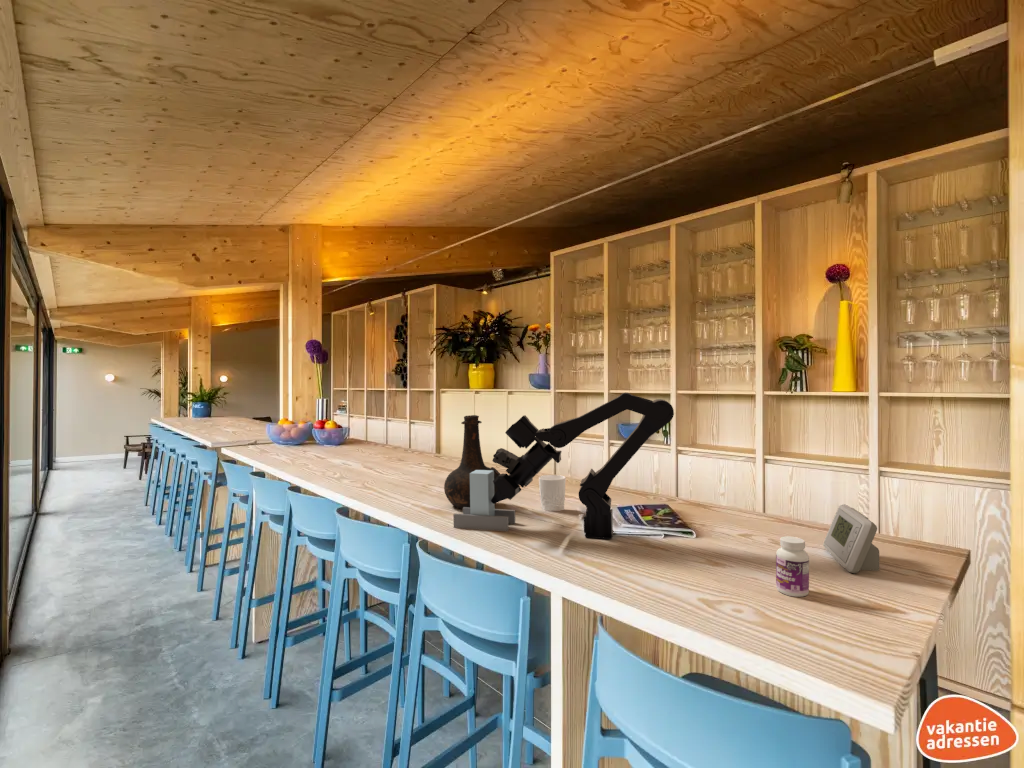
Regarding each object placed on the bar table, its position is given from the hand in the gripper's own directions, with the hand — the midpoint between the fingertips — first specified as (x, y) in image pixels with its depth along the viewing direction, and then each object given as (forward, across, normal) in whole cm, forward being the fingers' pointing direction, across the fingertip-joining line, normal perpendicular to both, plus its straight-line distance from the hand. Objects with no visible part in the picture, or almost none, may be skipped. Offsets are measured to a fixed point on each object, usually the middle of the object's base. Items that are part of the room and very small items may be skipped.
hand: (492, 502), depth 140 cm
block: (+6, 0, +2) cm, 7 cm away
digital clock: (-52, +6, +62) cm, 81 cm away
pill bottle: (-42, +25, +51) cm, 71 cm away
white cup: (-3, -21, +13) cm, 25 cm away
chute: (+7, 0, +4) cm, 7 cm away
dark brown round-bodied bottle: (+14, -20, -4) cm, 25 cm away
